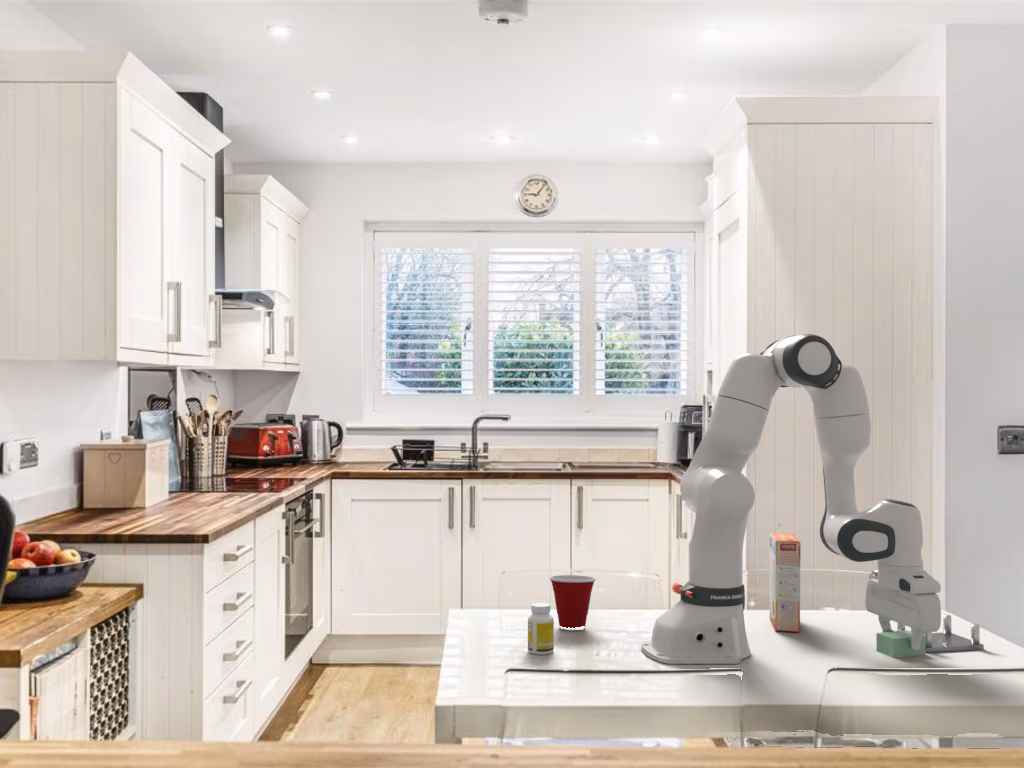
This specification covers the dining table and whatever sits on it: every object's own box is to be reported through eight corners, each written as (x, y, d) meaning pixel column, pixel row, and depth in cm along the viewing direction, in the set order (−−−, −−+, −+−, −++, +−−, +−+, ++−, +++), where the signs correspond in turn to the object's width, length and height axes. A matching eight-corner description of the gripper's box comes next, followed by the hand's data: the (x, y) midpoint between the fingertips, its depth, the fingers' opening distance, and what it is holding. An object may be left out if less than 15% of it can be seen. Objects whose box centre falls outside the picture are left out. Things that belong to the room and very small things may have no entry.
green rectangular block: (893, 658, 180) (893, 638, 180) (876, 651, 185) (876, 632, 185) (925, 655, 182) (925, 636, 182) (907, 649, 187) (907, 630, 187)
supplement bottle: (558, 650, 184) (558, 603, 184) (545, 657, 179) (545, 608, 179) (536, 647, 187) (536, 600, 187) (522, 652, 182) (522, 605, 182)
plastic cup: (597, 623, 208) (597, 572, 208) (594, 634, 197) (594, 581, 197) (551, 621, 209) (551, 570, 210) (546, 632, 198) (546, 579, 199)
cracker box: (801, 633, 199) (801, 541, 200) (774, 632, 200) (773, 540, 201) (794, 619, 213) (794, 532, 213) (769, 617, 214) (768, 531, 215)
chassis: (925, 652, 183) (925, 628, 184) (893, 639, 194) (893, 617, 194) (983, 649, 186) (983, 625, 186) (949, 636, 197) (948, 614, 197)
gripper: (857, 568, 194) (858, 631, 193) (918, 587, 174) (919, 657, 173) (882, 567, 195) (883, 630, 195) (946, 586, 175) (947, 655, 175)
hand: (901, 643), depth 184 cm, fingers open, 7 cm apart
